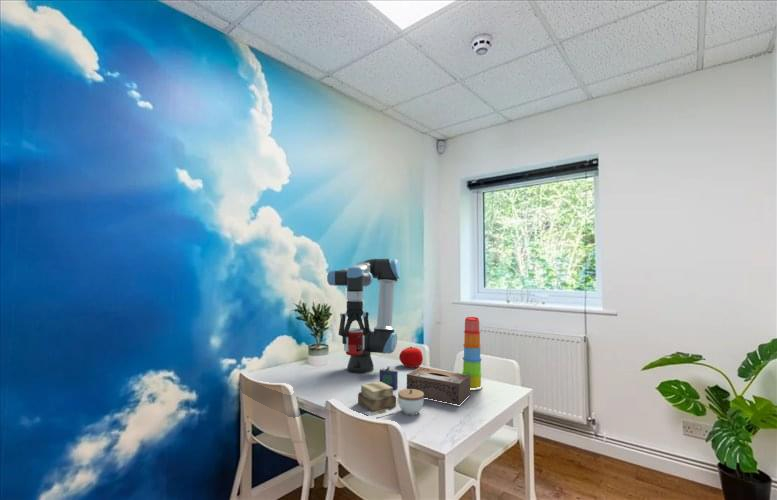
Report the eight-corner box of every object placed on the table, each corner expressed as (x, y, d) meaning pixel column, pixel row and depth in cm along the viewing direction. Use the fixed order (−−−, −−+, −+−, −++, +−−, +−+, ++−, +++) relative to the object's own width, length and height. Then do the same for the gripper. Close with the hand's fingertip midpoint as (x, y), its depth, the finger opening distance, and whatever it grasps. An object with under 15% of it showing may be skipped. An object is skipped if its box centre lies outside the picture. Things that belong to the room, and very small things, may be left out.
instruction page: (384, 407, 157) (384, 407, 157) (393, 413, 152) (393, 412, 152) (363, 413, 152) (363, 412, 152) (372, 419, 146) (372, 418, 146)
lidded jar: (396, 407, 158) (396, 385, 159) (421, 406, 159) (421, 384, 159) (399, 417, 148) (399, 394, 148) (426, 417, 148) (426, 393, 149)
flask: (398, 388, 182) (398, 366, 182) (396, 390, 179) (396, 368, 180) (380, 386, 185) (380, 364, 185) (378, 388, 182) (378, 366, 182)
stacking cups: (486, 387, 185) (485, 317, 186) (475, 392, 177) (475, 319, 178) (468, 382, 192) (468, 315, 193) (457, 387, 184) (457, 317, 185)
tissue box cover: (406, 395, 173) (406, 374, 173) (420, 386, 185) (420, 366, 185) (459, 407, 159) (459, 383, 160) (470, 396, 172) (470, 375, 172)
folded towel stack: (381, 397, 169) (381, 380, 169) (396, 406, 159) (396, 387, 159) (357, 403, 162) (357, 384, 163) (372, 412, 152) (372, 393, 152)
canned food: (360, 356, 166) (360, 331, 167) (343, 355, 168) (343, 330, 168) (364, 352, 174) (365, 328, 174) (348, 351, 175) (348, 327, 176)
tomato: (419, 370, 212) (419, 350, 212) (397, 368, 217) (397, 348, 217) (425, 365, 223) (425, 346, 224) (403, 362, 228) (403, 344, 229)
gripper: (337, 302, 163) (337, 354, 162) (378, 300, 174) (377, 348, 173) (331, 300, 169) (330, 351, 168) (370, 298, 180) (369, 345, 180)
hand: (354, 349), depth 171 cm, fingers closed on canned food, 8 cm apart
